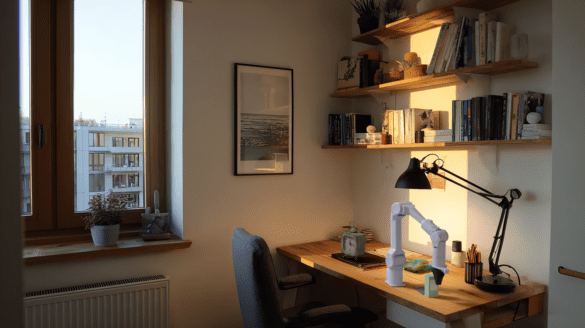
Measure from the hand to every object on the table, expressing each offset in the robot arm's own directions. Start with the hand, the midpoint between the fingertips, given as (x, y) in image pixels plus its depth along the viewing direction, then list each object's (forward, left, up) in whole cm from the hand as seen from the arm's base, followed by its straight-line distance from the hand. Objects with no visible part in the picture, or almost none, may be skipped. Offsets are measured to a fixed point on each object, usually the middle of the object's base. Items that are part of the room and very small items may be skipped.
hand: (438, 284), depth 194 cm
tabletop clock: (-77, -16, -8) cm, 79 cm away
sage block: (-6, 0, -7) cm, 10 cm away
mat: (-14, 0, -7) cm, 16 cm away
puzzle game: (-50, +15, -8) cm, 53 cm away
